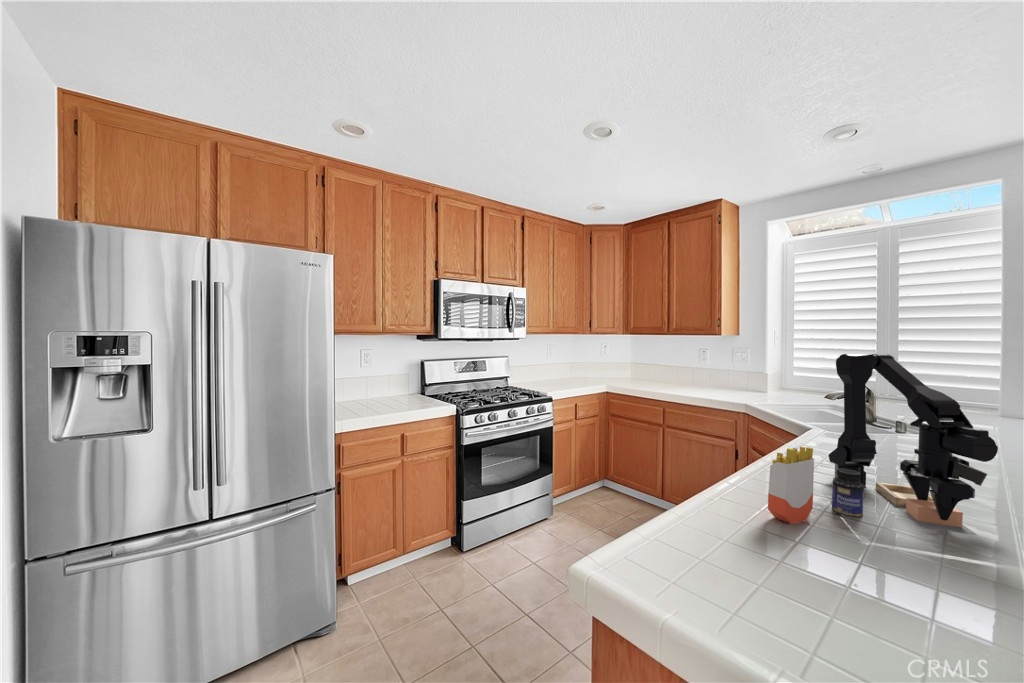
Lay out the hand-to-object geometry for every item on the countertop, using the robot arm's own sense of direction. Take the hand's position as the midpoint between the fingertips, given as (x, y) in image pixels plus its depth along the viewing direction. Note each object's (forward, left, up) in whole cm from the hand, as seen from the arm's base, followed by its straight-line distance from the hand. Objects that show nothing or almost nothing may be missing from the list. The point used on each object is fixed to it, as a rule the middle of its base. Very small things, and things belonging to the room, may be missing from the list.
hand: (932, 512), depth 99 cm
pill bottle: (-18, -4, -3) cm, 19 cm away
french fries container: (-32, -13, -3) cm, 35 cm away
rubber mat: (0, +6, -2) cm, 7 cm away
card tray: (0, +12, -2) cm, 13 cm away
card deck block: (0, 0, -2) cm, 2 cm away
